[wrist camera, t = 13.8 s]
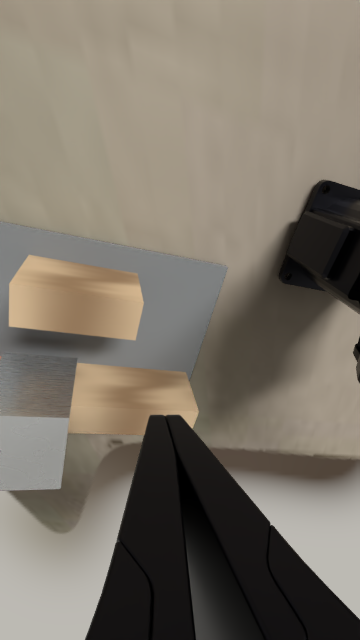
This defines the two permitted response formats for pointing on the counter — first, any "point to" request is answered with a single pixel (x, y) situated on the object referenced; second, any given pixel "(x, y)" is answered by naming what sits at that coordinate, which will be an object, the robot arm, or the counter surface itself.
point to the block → (105, 321)
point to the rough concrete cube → (34, 419)
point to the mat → (157, 291)
